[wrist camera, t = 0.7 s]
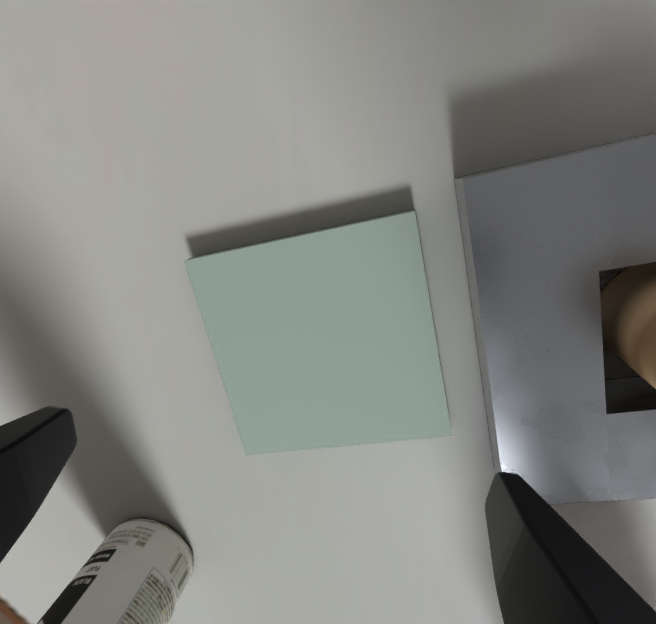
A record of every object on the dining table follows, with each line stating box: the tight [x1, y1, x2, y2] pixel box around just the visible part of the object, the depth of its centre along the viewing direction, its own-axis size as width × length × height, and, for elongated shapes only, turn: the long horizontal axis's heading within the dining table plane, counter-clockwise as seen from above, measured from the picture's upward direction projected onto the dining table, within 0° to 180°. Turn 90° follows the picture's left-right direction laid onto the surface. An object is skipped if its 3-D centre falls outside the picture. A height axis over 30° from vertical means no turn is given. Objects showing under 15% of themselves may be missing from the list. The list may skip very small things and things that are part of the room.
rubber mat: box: [184, 210, 452, 455], centre depth 23 cm, size 12×12×1 cm
